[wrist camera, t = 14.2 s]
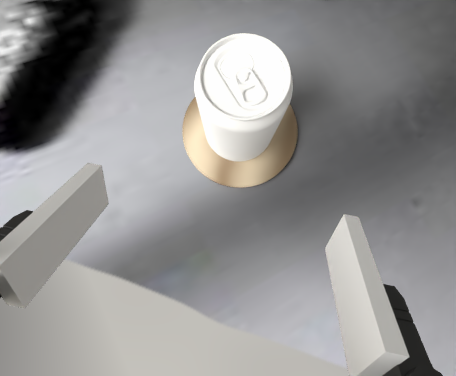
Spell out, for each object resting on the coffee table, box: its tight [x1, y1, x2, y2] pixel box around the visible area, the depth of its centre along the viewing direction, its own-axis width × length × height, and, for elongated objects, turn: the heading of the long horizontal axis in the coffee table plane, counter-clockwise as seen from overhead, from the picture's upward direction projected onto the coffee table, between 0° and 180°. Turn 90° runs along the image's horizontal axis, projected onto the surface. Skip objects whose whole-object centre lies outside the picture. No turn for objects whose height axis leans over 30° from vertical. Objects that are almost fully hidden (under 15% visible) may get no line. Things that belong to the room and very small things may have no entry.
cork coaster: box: [183, 96, 298, 188], centre depth 32 cm, size 14×14×1 cm
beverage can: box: [194, 33, 293, 161], centre depth 26 cm, size 8×8×12 cm
